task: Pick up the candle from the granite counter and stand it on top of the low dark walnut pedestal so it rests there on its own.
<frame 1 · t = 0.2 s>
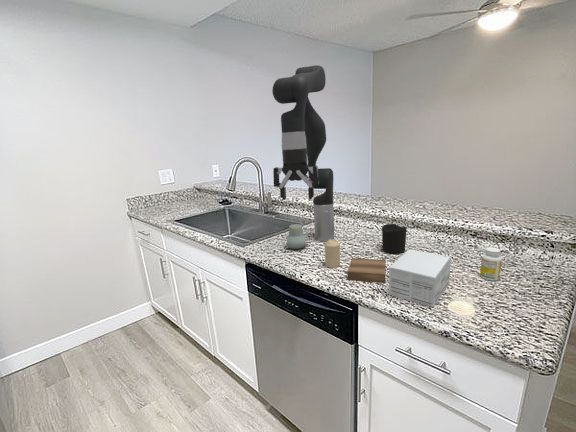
hand: (297, 199, 97), 28 cm above the worktop, tool pointing down, fingers open, 8 cm apart
air freshener: (296, 247, 136), on the worktop
candle: (332, 265, 115), on the worktop
supplement bottle: (489, 277, 98), on the worktop
walnut pedestal: (367, 273, 106), on the worktop
supplement box: (419, 289, 94), on the worktop
pen holder: (393, 250, 125), on the worktop
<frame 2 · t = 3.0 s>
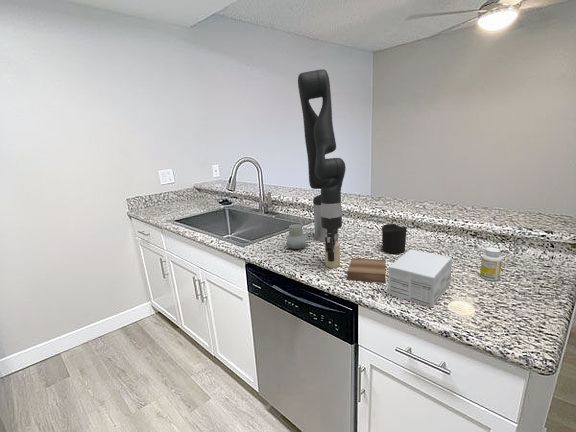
hand: (332, 257, 114), 3 cm above the worktop, tool pointing down, fingers closed on candle, 5 cm apart
candle: (332, 265, 115), on the worktop, touching gripper
everything else where it was.
when the fingers open (6 cm above the worktop, at t = 9.6 s): candle stays where it is, resting on walnut pedestal.
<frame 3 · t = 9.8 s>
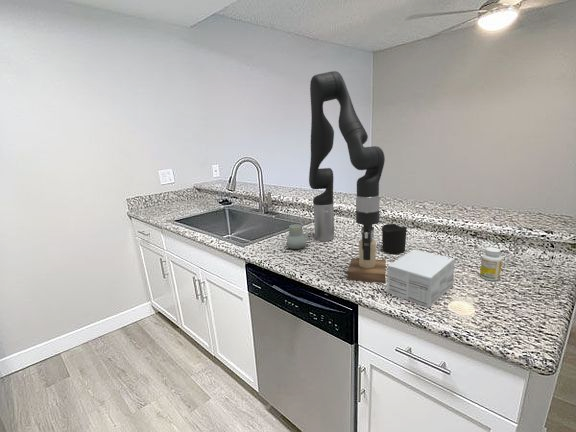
hand: (367, 255, 104), 7 cm above the worktop, tool pointing down, fingers open, 7 cm apart
candle: (367, 265, 105), point 3 cm above the worktop, touching walnut pedestal
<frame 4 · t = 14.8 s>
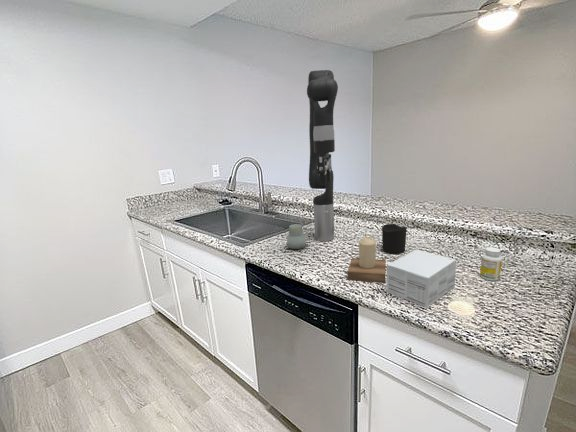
hand: (325, 183, 114), 30 cm above the worktop, tool pointing down, fingers open, 8 cm apart
at the end: candle 0.2 cm from the walnut pedestal (horizontally); candle tilted 0°; the gripper is holding nothing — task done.
